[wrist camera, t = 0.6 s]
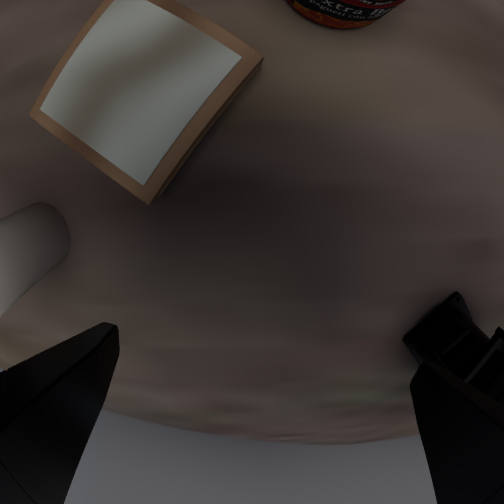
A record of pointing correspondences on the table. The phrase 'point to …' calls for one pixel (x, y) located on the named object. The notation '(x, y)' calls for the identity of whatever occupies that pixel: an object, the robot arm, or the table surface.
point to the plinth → (143, 89)
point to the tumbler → (29, 249)
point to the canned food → (344, 11)
